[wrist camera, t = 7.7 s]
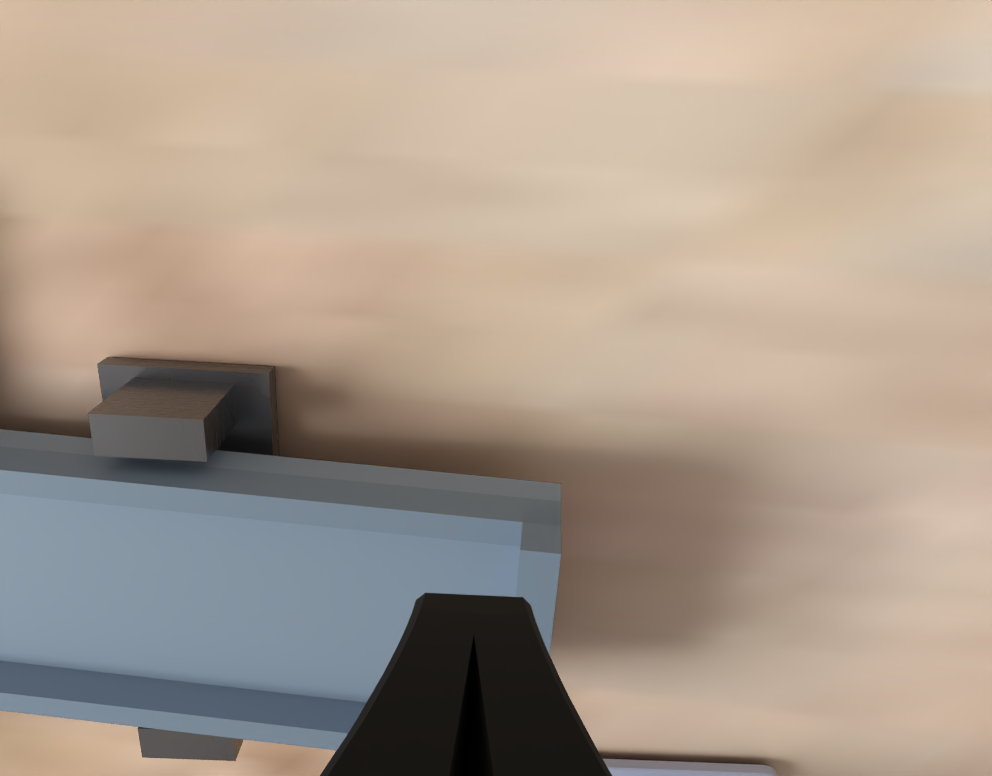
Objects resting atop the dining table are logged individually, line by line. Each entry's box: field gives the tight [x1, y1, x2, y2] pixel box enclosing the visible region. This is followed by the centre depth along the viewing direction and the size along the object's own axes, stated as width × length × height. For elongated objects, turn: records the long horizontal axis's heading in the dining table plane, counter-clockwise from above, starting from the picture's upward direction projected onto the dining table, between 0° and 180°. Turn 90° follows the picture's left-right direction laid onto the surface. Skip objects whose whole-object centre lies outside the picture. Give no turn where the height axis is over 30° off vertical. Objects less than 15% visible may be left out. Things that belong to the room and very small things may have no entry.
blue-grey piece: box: [0, 429, 561, 750], centre depth 16 cm, size 13×18×3 cm
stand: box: [88, 357, 279, 761], centre depth 18 cm, size 10×4×3 cm, turn 176°
